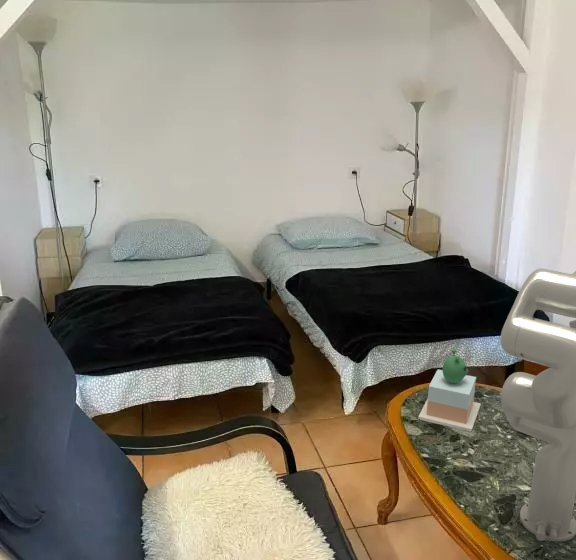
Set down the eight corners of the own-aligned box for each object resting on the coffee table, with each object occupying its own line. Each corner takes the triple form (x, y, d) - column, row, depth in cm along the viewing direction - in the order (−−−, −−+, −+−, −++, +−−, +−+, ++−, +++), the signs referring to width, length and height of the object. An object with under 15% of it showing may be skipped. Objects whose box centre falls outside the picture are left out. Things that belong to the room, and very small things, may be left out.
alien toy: (469, 387, 181) (473, 357, 178) (444, 387, 182) (446, 357, 178) (463, 376, 188) (466, 347, 185) (439, 376, 188) (441, 347, 185)
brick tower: (471, 431, 179) (475, 399, 175) (418, 419, 185) (420, 387, 182) (480, 406, 192) (483, 375, 188) (430, 395, 199) (432, 365, 195)
